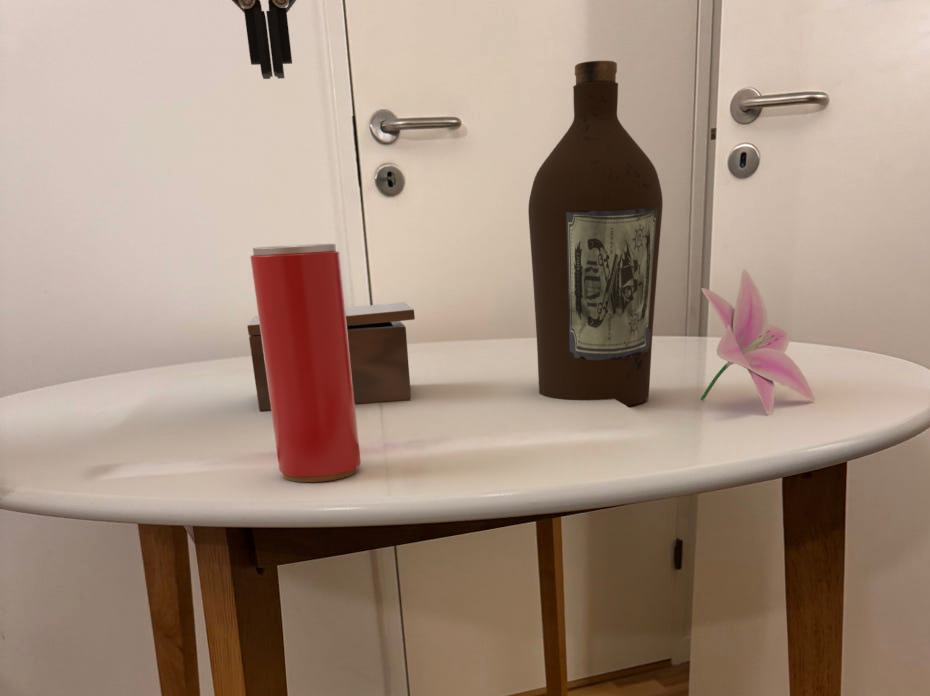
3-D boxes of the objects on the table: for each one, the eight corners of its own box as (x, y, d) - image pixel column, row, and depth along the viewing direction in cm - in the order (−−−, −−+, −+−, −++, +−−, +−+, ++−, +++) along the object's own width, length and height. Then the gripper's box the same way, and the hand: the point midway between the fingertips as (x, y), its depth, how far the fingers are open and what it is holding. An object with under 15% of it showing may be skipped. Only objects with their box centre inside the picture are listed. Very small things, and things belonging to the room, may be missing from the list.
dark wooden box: (403, 394, 88) (397, 317, 85) (412, 410, 80) (405, 326, 77) (265, 404, 86) (254, 326, 83) (260, 422, 78) (248, 336, 76)
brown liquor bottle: (518, 395, 84) (509, 75, 74) (628, 385, 86) (635, 72, 76) (553, 416, 75) (549, 52, 65) (676, 405, 77) (691, 50, 67)
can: (277, 480, 58) (246, 249, 53) (280, 460, 63) (252, 247, 58) (362, 473, 59) (339, 244, 54) (359, 454, 64) (337, 242, 58)
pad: (282, 485, 59) (281, 479, 59) (284, 467, 63) (283, 461, 63) (358, 478, 60) (357, 472, 59) (355, 461, 64) (354, 455, 64)
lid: (406, 311, 85) (405, 301, 84) (415, 319, 77) (414, 309, 77) (254, 325, 83) (253, 316, 83) (248, 335, 76) (247, 325, 75)
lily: (687, 436, 71) (758, 321, 65) (627, 357, 78) (686, 248, 73) (799, 463, 77) (874, 360, 71) (734, 386, 84) (796, 288, 78)
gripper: (347, -221, 66) (371, 80, 73) (128, -223, 64) (176, 86, 71) (350, -272, 59) (377, 65, 67) (106, -276, 57) (161, 71, 65)
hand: (273, 75), depth 69 cm, fingers closed
